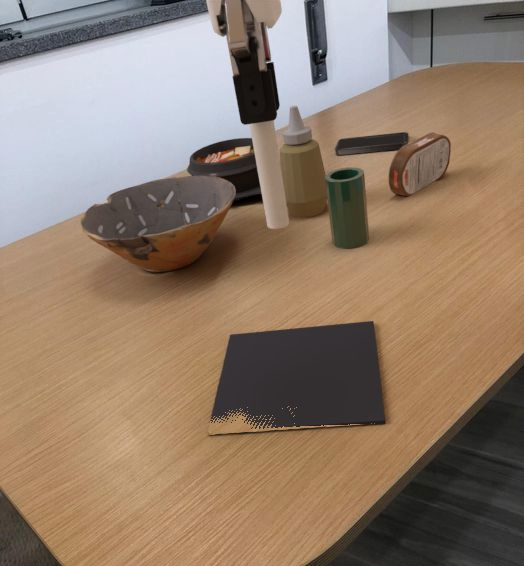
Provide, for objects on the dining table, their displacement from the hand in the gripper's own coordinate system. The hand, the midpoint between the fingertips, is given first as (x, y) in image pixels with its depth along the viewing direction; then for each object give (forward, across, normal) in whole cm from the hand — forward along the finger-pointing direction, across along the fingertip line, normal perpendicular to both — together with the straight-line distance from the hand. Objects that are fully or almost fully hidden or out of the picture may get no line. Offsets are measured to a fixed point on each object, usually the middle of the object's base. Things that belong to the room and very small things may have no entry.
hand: (260, 115), depth 54 cm
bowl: (+28, +32, +22) cm, 48 cm away
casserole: (+28, +60, +16) cm, 68 cm away
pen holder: (+28, +30, -6) cm, 41 cm away
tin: (+28, +49, -19) cm, 60 cm away
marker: (+11, 0, 0) cm, 11 cm away
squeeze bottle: (+28, +44, +1) cm, 52 cm away
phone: (+28, +76, -12) cm, 82 cm away
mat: (+28, -2, 0) cm, 28 cm away
